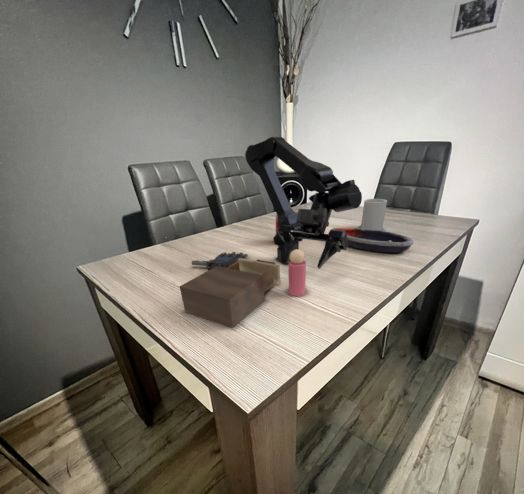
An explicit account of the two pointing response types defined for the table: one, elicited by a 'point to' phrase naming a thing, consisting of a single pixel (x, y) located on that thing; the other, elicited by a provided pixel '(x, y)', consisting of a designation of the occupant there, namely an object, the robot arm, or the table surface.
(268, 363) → the table surface
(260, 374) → the table surface
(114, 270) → the table surface
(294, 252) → the doll
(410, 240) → the dish
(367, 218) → the cup
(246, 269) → the drawer
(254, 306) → the cabinet
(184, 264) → the table surface
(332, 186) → the robot arm
